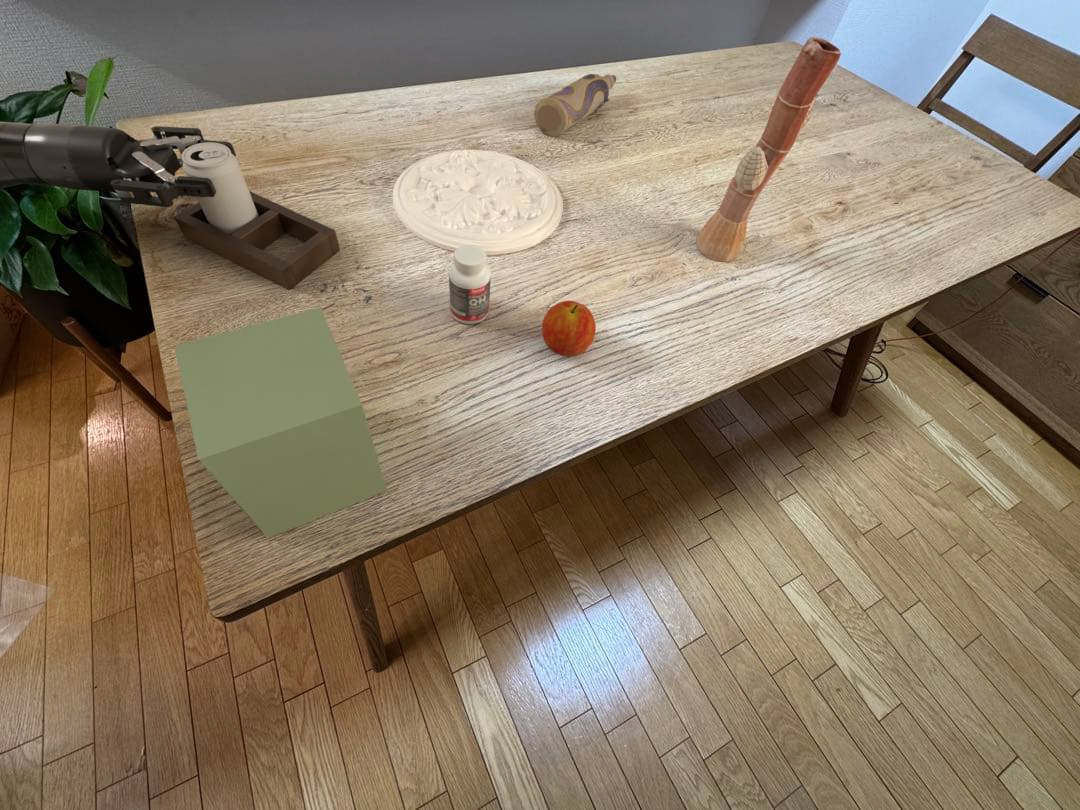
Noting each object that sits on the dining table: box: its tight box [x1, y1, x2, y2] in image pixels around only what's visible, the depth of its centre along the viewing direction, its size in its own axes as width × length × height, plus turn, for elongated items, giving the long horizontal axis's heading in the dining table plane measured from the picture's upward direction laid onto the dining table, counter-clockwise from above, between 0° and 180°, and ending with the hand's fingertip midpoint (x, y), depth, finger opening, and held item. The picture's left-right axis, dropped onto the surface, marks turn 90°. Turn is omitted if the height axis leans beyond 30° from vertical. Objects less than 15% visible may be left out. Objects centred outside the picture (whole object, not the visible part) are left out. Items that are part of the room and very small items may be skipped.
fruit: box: [541, 300, 597, 357], centre depth 66 cm, size 7×7×8 cm
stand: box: [173, 306, 388, 539], centre depth 49 cm, size 12×12×16 cm
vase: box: [695, 36, 842, 263], centre depth 74 cm, size 11×7×30 cm
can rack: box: [173, 190, 341, 291], centre depth 73 cm, size 10×19×4 cm, turn 63°
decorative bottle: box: [533, 73, 617, 137], centre depth 104 cm, size 26×8×7 cm, turn 145°
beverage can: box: [182, 142, 259, 235], centre depth 70 cm, size 6×6×12 cm
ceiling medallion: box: [392, 149, 564, 256], centre depth 85 cm, size 28×28×3 cm
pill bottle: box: [448, 245, 492, 325], centre depth 67 cm, size 5×5×10 cm
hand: (223, 168), depth 67 cm, fingers open, 8 cm apart
